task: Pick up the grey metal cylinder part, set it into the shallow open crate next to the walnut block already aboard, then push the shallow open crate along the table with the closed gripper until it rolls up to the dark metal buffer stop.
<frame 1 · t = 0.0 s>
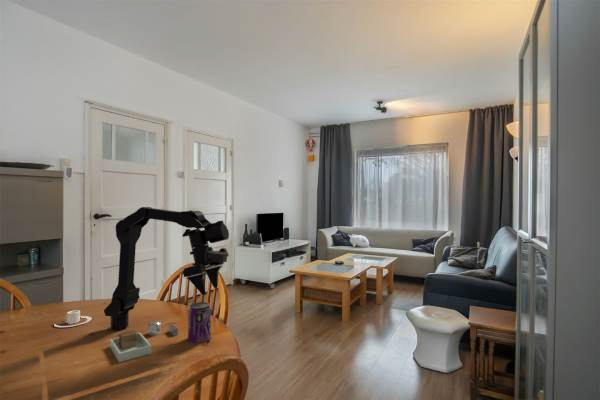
hand: (210, 291, 110), 15 cm above the table, tool pointing down, fingers open, 9 cm apart
buffer stop: (172, 336, 110), on the table
candle holder: (72, 323, 123), on the table
walnut block: (127, 345, 100), point 1 cm above the table, touching shallow open crate
metal part: (154, 336, 110), on the table
beverage can: (199, 342, 106), on the table
shallow open crate: (130, 347, 97), point 2 cm above the table, slide at 0.0 cm, touching walnut block
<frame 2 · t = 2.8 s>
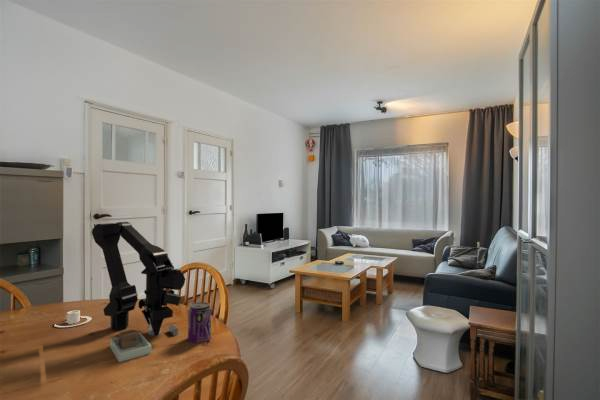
hand: (154, 333, 110), 1 cm above the table, tool pointing down, fingers closed on metal part, 4 cm apart
metal part: (154, 336, 110), on the table, touching gripper
everything else where it was.
when the fingers open (4 cm above the table, at t = 6.2 s): metal part drops 2 cm, resting on shallow open crate.
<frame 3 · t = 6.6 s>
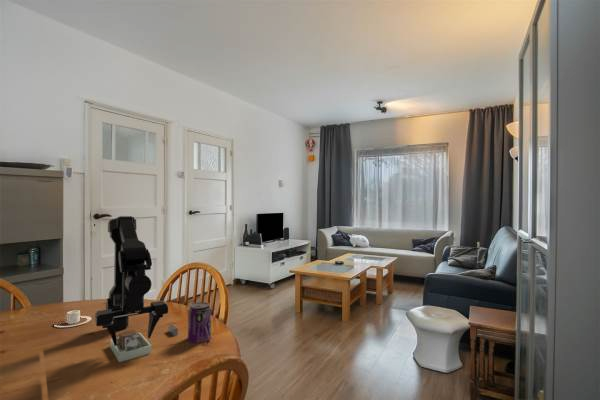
hand: (132, 341, 95), 4 cm above the table, tool pointing down, fingers open, 9 cm apart
metal part: (132, 352, 95), point 1 cm above the table, touching shallow open crate
shallow open crate: (130, 347, 97), point 2 cm above the table, slide at 0.0 cm, touching metal part, walnut block
everything else where it was.
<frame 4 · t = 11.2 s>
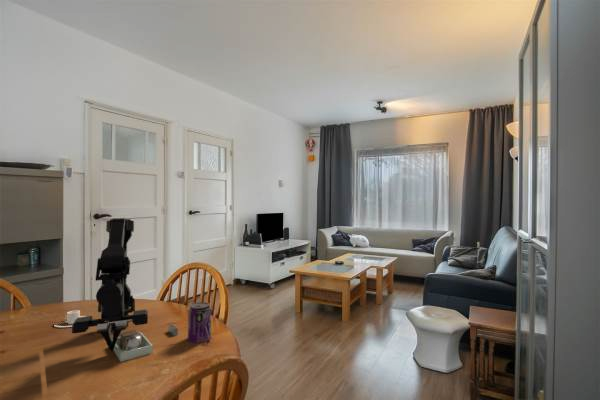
hand: (111, 350, 94), 2 cm above the table, tool pointing down, fingers closed
shallow open crate: (131, 347, 97), point 2 cm above the table, slide at 0.4 cm, touching gripper, metal part, walnut block
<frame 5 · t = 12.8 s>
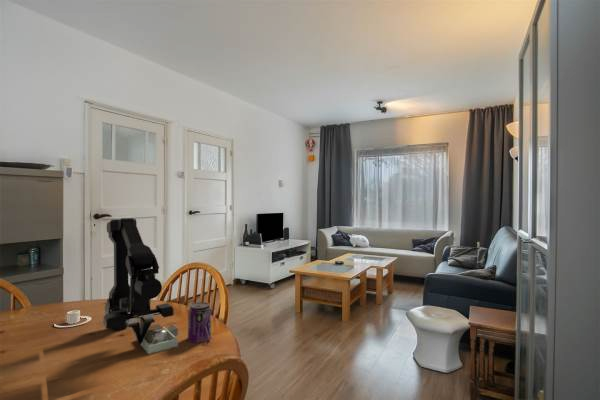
hand: (139, 343, 99), 2 cm above the table, tool pointing down, fingers closed
walnut block: (153, 339, 105), point 1 cm above the table, touching shallow open crate
metal part: (159, 345, 100), point 1 cm above the table, touching shallow open crate
shallow open crate: (156, 341, 102), point 2 cm above the table, slide at 7.6 cm, touching gripper, metal part, walnut block
everything else where it was.
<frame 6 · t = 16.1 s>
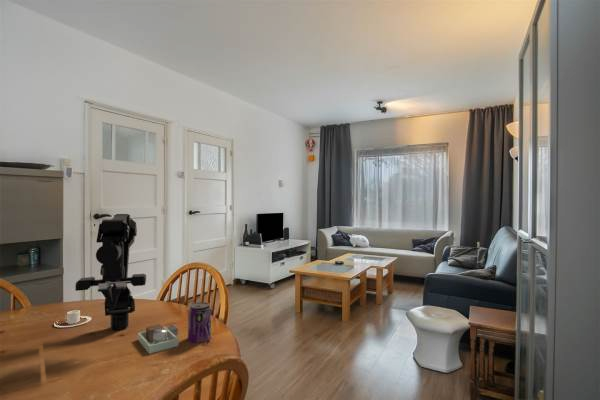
hand: (112, 309, 101), 12 cm above the table, tool pointing down, fingers closed
shallow open crate: (157, 340, 102), point 2 cm above the table, slide at 7.9 cm, touching metal part, walnut block
everything else where it was.
at the end: shallow open crate slide at 7.9 cm; metal part inside the target area on the shallow open crate (0.2 cm from its centre), point 1.1 cm above the shallow open crate's base; walnut block 0.4 cm from the target spot on the shallow open crate, point 1.1 cm above the shallow open crate's base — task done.
